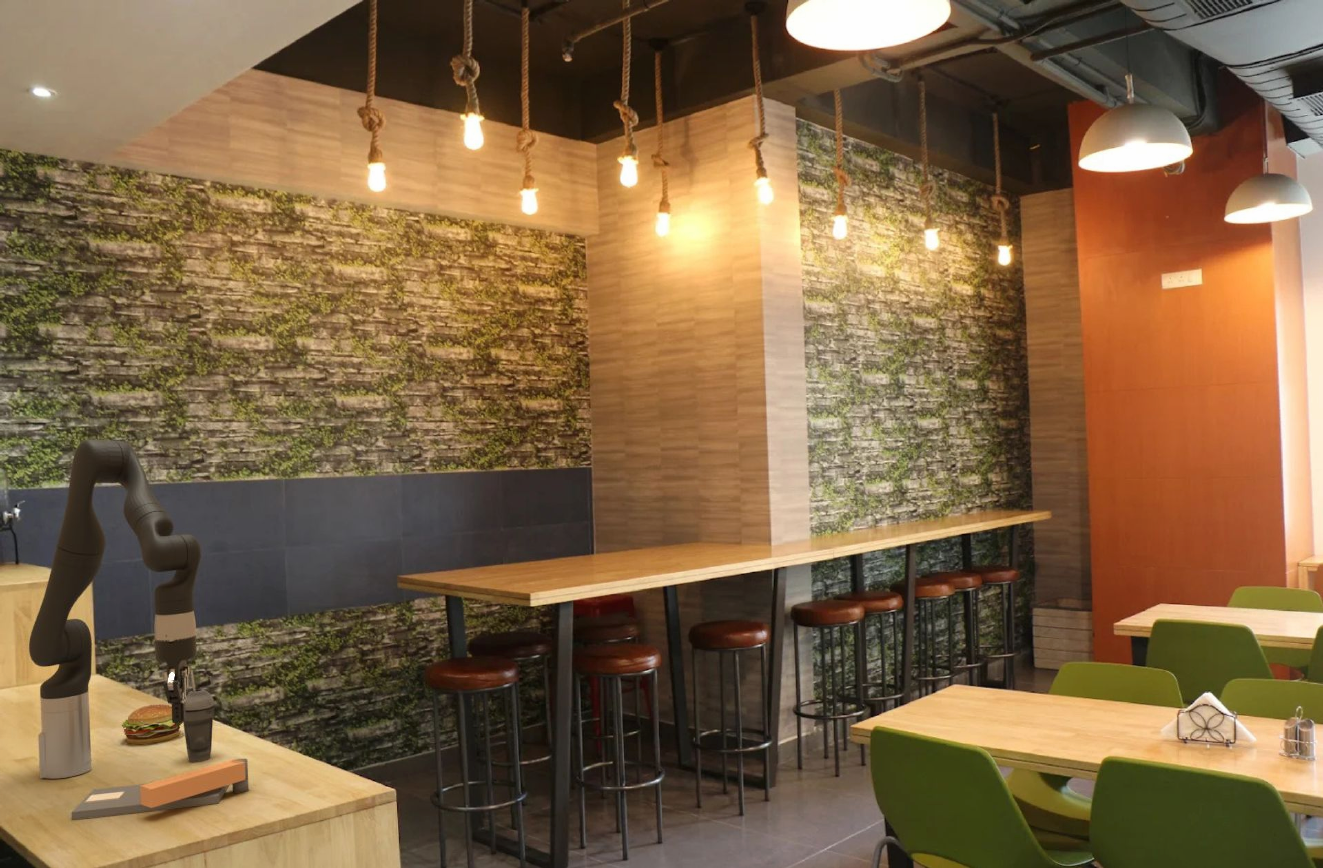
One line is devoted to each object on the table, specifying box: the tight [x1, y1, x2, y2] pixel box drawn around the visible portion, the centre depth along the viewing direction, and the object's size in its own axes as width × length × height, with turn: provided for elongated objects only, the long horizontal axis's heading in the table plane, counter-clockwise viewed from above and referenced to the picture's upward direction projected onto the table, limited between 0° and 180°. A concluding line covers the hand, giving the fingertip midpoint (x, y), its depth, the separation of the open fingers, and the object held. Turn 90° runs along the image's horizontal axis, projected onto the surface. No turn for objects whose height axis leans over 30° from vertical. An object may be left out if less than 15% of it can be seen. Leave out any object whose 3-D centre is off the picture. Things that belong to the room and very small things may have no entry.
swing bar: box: [140, 758, 249, 808], centre depth 205 cm, size 20×4×4 cm, turn 142°
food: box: [121, 704, 183, 745], centre depth 257 cm, size 14×14×8 cm
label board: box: [70, 777, 250, 821], centre depth 209 cm, size 30×14×2 cm, turn 103°
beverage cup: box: [182, 669, 216, 763], centre depth 237 cm, size 7×7×20 cm
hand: (178, 721), depth 210 cm, fingers closed
